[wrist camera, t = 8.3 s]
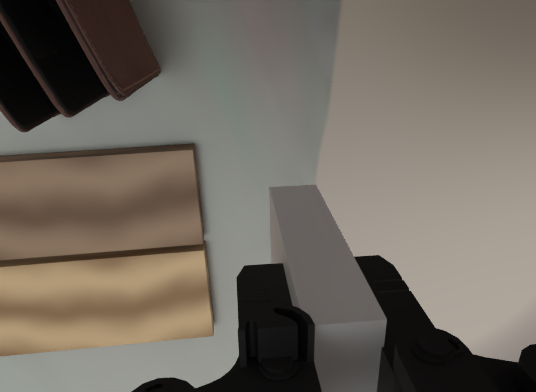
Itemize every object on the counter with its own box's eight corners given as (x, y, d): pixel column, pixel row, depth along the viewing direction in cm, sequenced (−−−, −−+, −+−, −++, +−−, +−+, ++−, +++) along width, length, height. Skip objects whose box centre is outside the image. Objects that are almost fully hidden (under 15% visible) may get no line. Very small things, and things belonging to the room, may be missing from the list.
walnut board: (-86, 161, 37) (-103, 169, 35) (194, 143, 39) (192, 149, 37) (-51, 254, 40) (-64, 265, 39) (204, 234, 42) (203, 243, 40)
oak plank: (-49, 261, 41) (-62, 272, 39) (204, 240, 42) (203, 250, 41) (-19, 345, 44) (-29, 359, 43) (213, 323, 46) (213, 335, 44)
